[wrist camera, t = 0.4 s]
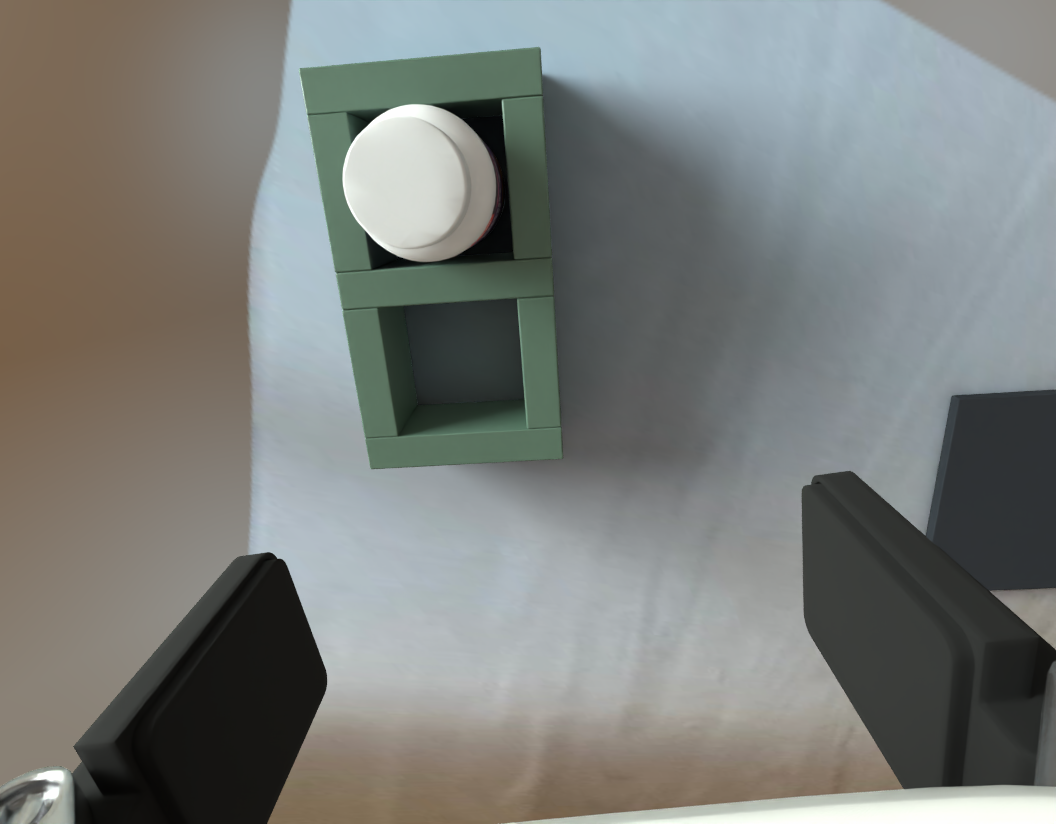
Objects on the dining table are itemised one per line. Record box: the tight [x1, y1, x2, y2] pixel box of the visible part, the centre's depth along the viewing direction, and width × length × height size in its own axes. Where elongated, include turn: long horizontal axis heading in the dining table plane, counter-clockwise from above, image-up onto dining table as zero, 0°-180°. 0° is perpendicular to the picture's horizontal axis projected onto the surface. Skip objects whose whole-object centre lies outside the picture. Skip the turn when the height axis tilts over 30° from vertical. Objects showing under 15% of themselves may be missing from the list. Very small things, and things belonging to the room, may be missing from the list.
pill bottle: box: [343, 104, 505, 262], centre depth 23 cm, size 5×5×10 cm
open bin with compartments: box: [299, 47, 563, 469], centre depth 27 cm, size 17×9×4 cm, turn 4°
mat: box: [926, 390, 1056, 591], centre depth 32 cm, size 12×10×1 cm
